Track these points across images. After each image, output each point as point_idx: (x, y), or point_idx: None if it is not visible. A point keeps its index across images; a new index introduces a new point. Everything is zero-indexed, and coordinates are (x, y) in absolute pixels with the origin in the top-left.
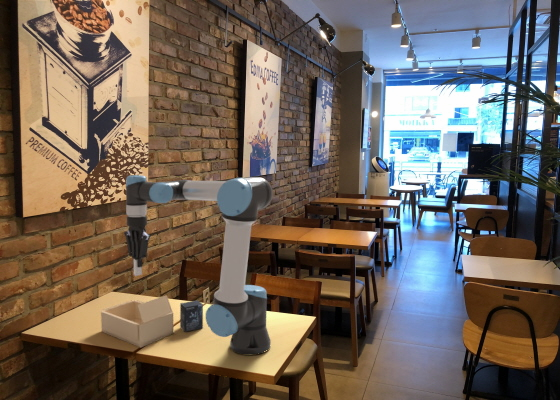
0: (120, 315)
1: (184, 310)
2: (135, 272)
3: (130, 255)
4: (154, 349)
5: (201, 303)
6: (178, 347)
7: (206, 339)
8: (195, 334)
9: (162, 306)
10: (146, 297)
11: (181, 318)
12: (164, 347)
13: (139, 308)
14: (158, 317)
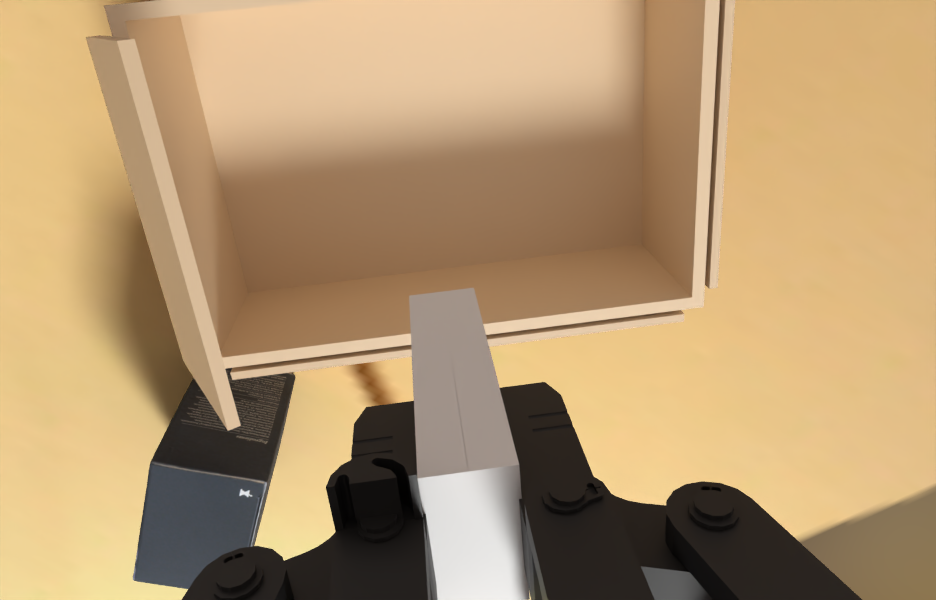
0: (664, 136)
1: (174, 445)
2: (431, 318)
3: (676, 502)
4: (75, 56)
5: (153, 581)
6: (2, 193)
7: (11, 382)
8: (130, 379)
9: (180, 313)
10: (890, 485)
11: (258, 407)
12: (63, 126)
13: (112, 49)
14: (380, 304)
